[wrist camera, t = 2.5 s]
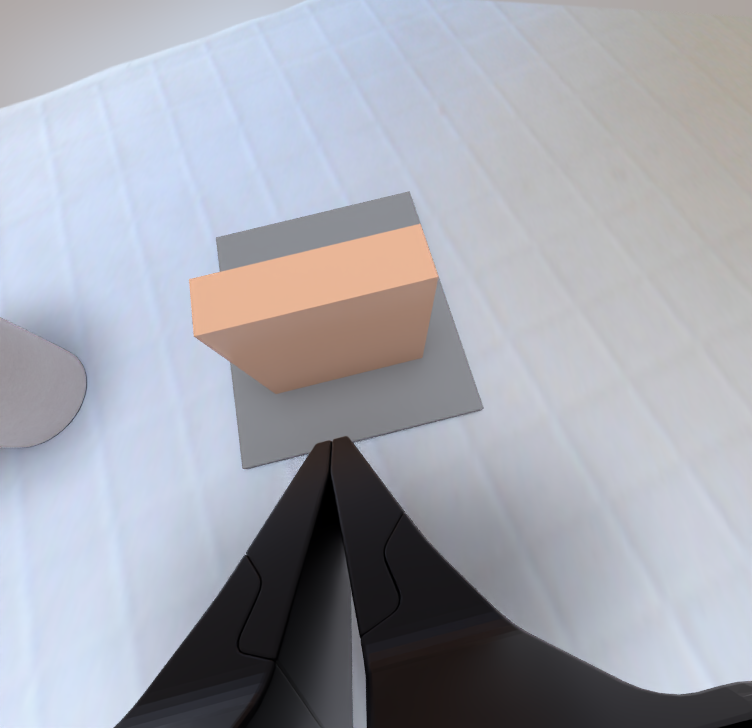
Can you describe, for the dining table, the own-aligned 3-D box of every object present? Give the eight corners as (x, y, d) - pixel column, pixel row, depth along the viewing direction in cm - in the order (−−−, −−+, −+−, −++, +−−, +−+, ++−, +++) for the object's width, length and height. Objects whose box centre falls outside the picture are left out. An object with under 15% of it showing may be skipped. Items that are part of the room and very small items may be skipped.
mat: (481, 409, 21) (483, 408, 20) (246, 469, 21) (242, 468, 20) (409, 196, 26) (409, 191, 25) (219, 242, 26) (215, 237, 25)
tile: (422, 357, 21) (438, 276, 13) (275, 394, 21) (193, 336, 13) (411, 320, 22) (419, 220, 14) (269, 354, 22) (188, 276, 14)
